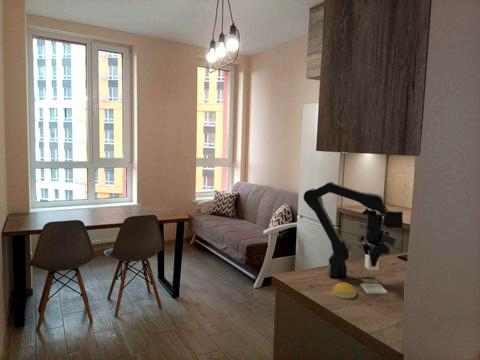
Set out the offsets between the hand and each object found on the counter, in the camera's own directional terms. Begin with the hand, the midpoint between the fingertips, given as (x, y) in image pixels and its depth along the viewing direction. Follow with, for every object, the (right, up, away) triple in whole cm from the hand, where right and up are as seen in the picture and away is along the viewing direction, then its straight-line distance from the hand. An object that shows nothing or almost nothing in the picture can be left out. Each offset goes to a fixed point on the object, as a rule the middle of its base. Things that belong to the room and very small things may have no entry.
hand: (371, 264), depth 142 cm
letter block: (0, -1, 0) cm, 1 cm away
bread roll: (-14, -9, -11) cm, 20 cm away
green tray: (-2, -8, -7) cm, 11 cm away
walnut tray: (0, -7, +1) cm, 8 cm away
